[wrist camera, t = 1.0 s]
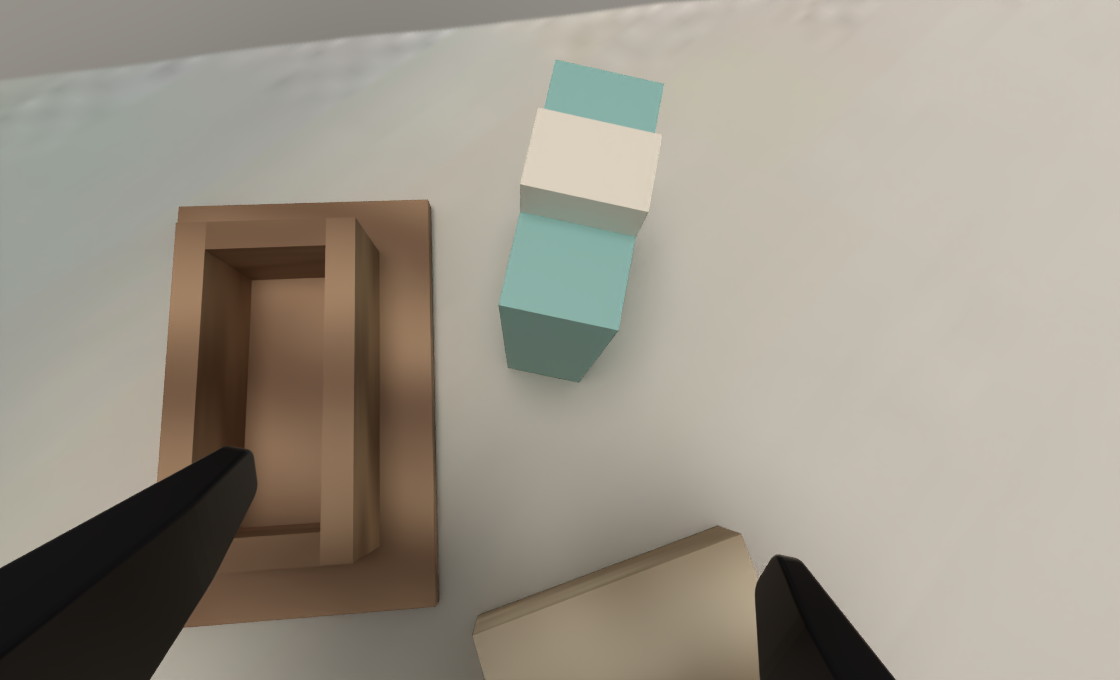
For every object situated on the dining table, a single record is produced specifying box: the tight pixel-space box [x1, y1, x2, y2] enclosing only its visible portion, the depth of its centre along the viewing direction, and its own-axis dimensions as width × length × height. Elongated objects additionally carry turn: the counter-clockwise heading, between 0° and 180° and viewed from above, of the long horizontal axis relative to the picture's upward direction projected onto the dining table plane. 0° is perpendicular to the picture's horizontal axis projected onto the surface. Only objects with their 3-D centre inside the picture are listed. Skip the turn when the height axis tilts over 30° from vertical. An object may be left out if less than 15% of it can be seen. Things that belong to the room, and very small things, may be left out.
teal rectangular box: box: [499, 60, 664, 382], centre depth 19 cm, size 7×3×12 cm, turn 169°
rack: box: [157, 200, 439, 628], centre depth 21 cm, size 16×10×4 cm, turn 4°
